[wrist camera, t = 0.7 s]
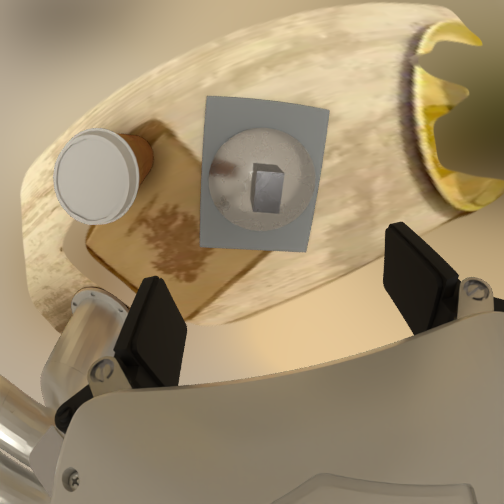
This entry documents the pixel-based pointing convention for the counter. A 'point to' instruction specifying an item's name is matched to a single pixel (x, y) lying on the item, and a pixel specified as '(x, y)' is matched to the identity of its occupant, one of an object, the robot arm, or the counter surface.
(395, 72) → the counter surface
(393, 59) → the counter surface
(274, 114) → the mat
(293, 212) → the lid
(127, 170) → the disposable coffee cup
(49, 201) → the counter surface
